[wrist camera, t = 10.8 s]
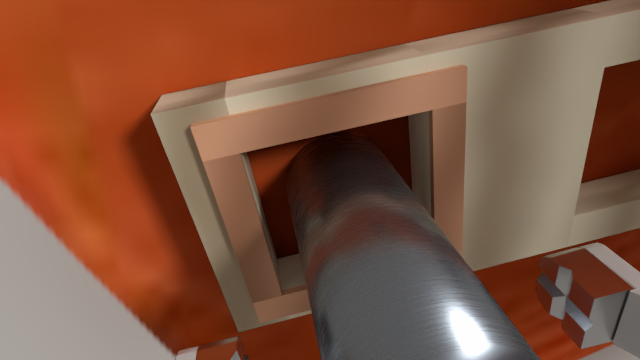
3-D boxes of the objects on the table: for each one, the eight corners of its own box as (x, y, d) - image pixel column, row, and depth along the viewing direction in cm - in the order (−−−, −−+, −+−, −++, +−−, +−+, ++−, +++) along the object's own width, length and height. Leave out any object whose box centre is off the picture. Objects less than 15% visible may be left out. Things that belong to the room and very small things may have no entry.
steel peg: (384, 121, 16) (565, 319, 7) (391, 211, 18) (536, 446, 9) (275, 146, 15) (323, 386, 7) (296, 235, 17) (353, 501, 9)
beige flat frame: (777, -35, 15) (858, -35, 13) (695, 182, 20) (745, 205, 18) (161, 94, 14) (148, 117, 12) (238, 298, 19) (238, 337, 17)
